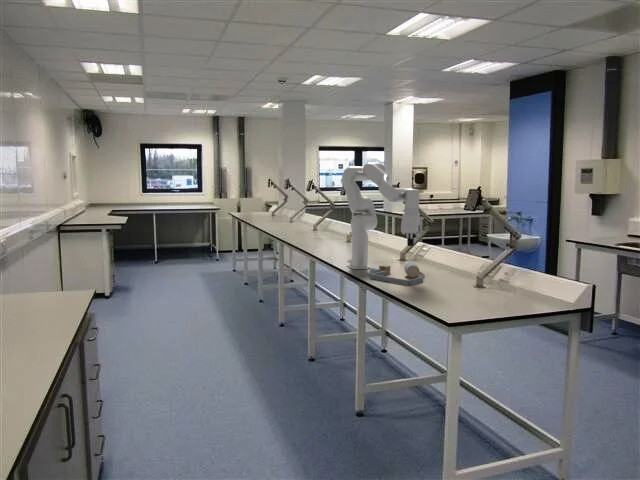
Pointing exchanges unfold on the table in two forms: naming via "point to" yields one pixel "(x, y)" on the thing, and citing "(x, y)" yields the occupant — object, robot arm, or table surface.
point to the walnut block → (385, 268)
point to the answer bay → (395, 280)
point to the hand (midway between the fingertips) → (410, 245)
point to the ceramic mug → (413, 270)
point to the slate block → (374, 270)
